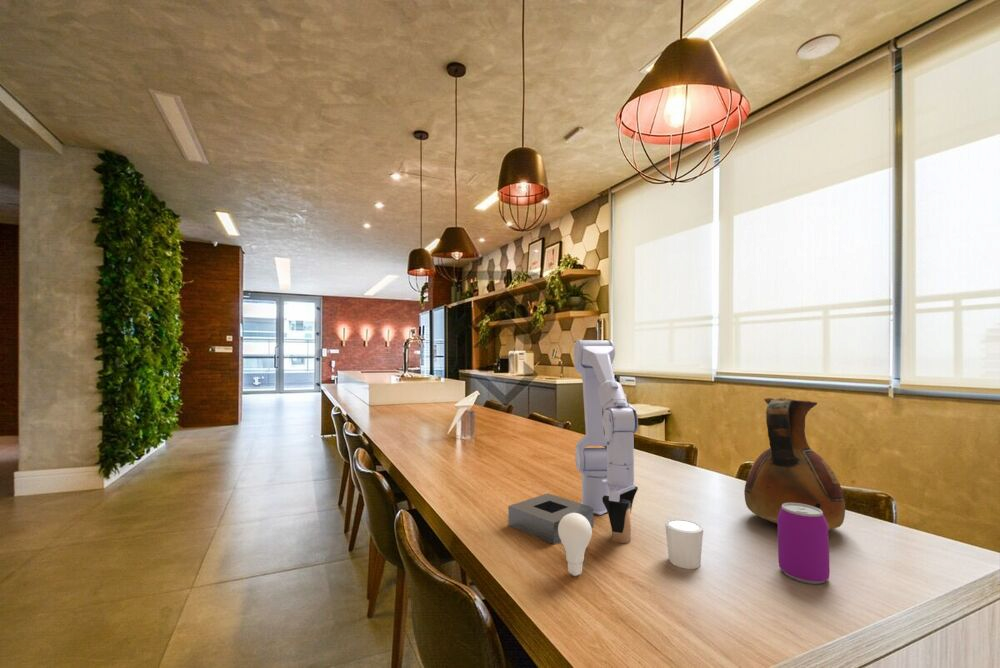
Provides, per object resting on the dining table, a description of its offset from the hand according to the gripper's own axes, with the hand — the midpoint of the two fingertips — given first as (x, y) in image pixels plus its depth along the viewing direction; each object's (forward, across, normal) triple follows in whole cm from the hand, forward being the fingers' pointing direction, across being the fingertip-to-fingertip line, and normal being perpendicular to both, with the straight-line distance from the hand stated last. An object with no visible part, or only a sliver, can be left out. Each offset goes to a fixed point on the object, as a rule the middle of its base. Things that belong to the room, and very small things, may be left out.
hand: (621, 525), depth 95 cm
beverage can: (+3, +1, +33) cm, 33 cm away
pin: (+3, 0, 0) cm, 3 cm away
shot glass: (+3, +5, +13) cm, 14 cm away
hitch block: (+3, 0, -16) cm, 16 cm away
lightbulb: (+3, +20, -4) cm, 20 cm away
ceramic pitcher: (+3, -26, +35) cm, 44 cm away
